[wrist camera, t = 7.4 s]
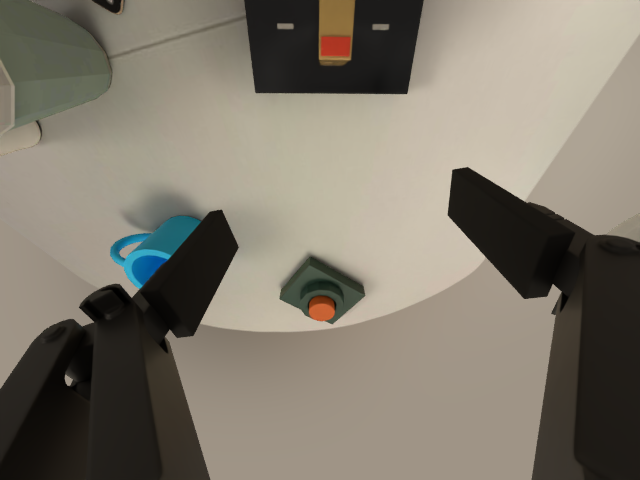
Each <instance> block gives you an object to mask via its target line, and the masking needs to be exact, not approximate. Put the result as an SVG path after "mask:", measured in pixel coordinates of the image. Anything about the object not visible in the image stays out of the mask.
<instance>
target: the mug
mask: <svg viewBox="0 0 640 480" xmlns="http://www.w3.org/2000/svg"><path fill="white" fill-rule="evenodd" d="M200 223H201V221H199V220H198V219H195V218H192V217H189V216H176V217H172V218H170V219H168V220H167V221H166V222H164V223H163V224H162V225H161V226H160V227H159V228H158V229H157V230H156V231H154V232H153V233H143V234H136V235H131V236H127V237H124V238H122V239H120V240H118V241H116V242H115V243H114V244H113V246H112V247H111V250H110V256H111V257H112V259H113V260H114V261H115V262H116V263H117V264H119V265H121V266H122V267H124V271H125V273H126V275H127V277H128V279H129V280H130V281H131V282H132V283H133V284H134V285H135V286H136V287H138V288H139V289H140V288H141V287H142V286H143V285H144V284H145V283H146V282H147V280H149V278H150V277H151V276H152V275H153V274H155V271H156V270H157V269H158V268H159V267H160V266H161V265H162V264H163V263H165V262H166V261H167V260H168V259H169V258H170V257H171V256H172V255H173V254H174V252H175V251H176V250H177V249H178V248H179V247H180V245H181V244H182V243H183V242H184V241H185V240H186V239H187V237H188V236H189V235H190V234H191V233H192V232H193V231H194V229H195V228H196V227H197V226H198V225H199V224H200ZM142 241H143V242H142ZM136 242H142V243H141V244H140V245H139V246H138V247H137V248H136V249H134V250H133V251H132V252H131V253H130V254H129V255H128V256H127V257H126V259H124V258H123V257H121V256H120V254H119V252H120V250H121V249H122V248H124V247H125V246H127V245H129V244H132V243H136Z"/></svg>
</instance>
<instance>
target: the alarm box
mask: <svg viewBox="0 0 640 480" xmlns="http://www.w3.org/2000/svg"><path fill="white" fill-rule="evenodd" d="M316 296H328V297H330V298H331V299H332V300H333V301H334V305H335V314H334V316H333V317H332V318H331V319H329V320H327V321H326V322H328V323H330V324H333V323H334V322H336V321H337V320H338V319H339V318H340V317H341V316H342V315H344V314H345V313H346V312H347V311H348V310H349V309H351V308H352V307H353V306H354V305H355V304H356V303H357V302H359V301H360V300H361V299H362V298H363V297H364V296H365V292H364V287H363V286H362V285H360V284H358V283H357V282H355V281H353V280H351V279H350V278H348V277H346V276H344V275H342V274H341V273H339V272H337V271H335V270H334V269H332V268H330V267H328V266H327V265H325V264H323V263H321V262H319V261H318V260H316V259H314V258H312V257H311V256H310V257H309V258H308V259H307V261H306V262H305V263H304V264H303V265H302V266H301V268H300V269H299V270H298V271H297V272H296V273H295V274H294V276H293V277H292V278H291V279H290V280H289V281H288V283H287V284H286V285H285V286H284V287H283V288H282V289H281V293H280V298H279V299H280V300H282V301H284V302H286V303H288V304H291V305H293V306H295V307H297V308H299V309H301V310H302V312H303V313H304V314H305V315H306V316H308V317H310V318H312V317H311V316H310V315H309V303H310V301H311V299H312V298H314V297H316ZM312 319H313V318H312Z"/></svg>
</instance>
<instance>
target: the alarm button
mask: <svg viewBox="0 0 640 480" xmlns="http://www.w3.org/2000/svg"><path fill="white" fill-rule="evenodd" d="M334 314H335V305H334V301H333V300H332V299H331V298H330V297H328V296H316V297H314V298H312V299H311V301H310V303H309V315H310V316H311V317H312V318H313V319H314V320H317V321H327V320H329V319H331V318H332V317H333V316H334Z"/></svg>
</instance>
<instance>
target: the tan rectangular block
mask: <svg viewBox="0 0 640 480" xmlns="http://www.w3.org/2000/svg"><path fill="white" fill-rule="evenodd" d="M354 10H355V0H319V62H320V65H337V66H343V65H344V64H346V63H347V62H349V61H350V60H351V54H352V39H353V24H354Z"/></svg>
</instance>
